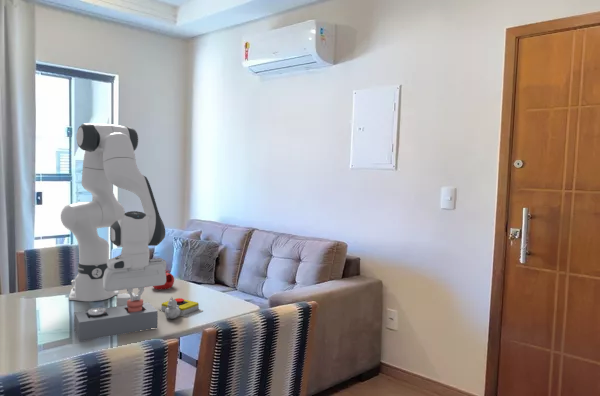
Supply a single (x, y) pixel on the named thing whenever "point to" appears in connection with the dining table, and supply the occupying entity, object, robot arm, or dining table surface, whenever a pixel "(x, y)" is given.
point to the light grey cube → (123, 299)
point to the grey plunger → (96, 312)
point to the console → (114, 322)
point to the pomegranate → (168, 283)
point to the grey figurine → (172, 309)
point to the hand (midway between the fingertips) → (135, 300)
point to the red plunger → (134, 305)
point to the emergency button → (184, 307)
